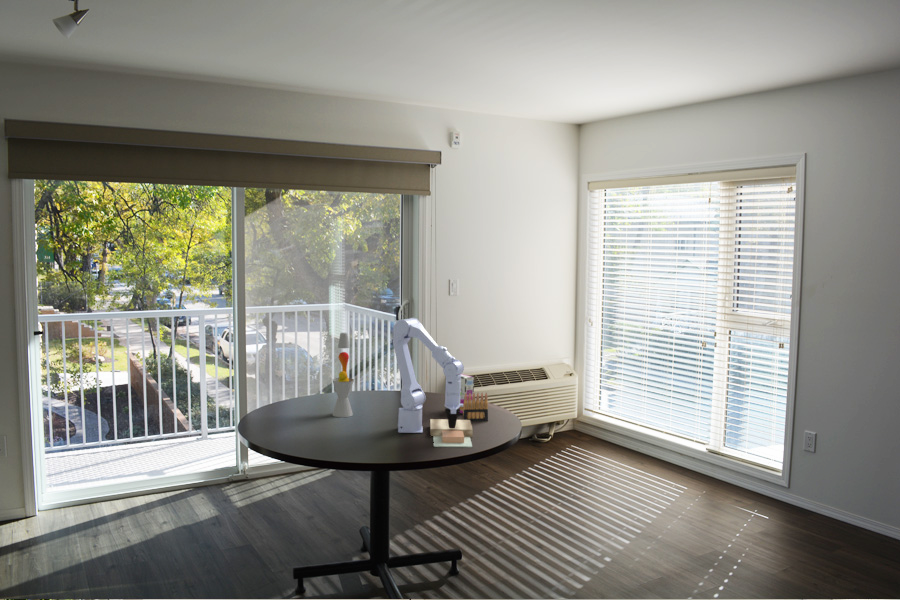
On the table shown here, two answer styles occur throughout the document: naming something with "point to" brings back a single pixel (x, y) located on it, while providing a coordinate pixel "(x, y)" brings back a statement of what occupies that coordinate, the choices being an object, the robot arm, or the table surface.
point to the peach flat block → (452, 437)
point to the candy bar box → (466, 389)
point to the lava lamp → (343, 382)
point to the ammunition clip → (473, 412)
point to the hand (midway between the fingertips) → (451, 427)
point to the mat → (438, 443)
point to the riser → (443, 425)
